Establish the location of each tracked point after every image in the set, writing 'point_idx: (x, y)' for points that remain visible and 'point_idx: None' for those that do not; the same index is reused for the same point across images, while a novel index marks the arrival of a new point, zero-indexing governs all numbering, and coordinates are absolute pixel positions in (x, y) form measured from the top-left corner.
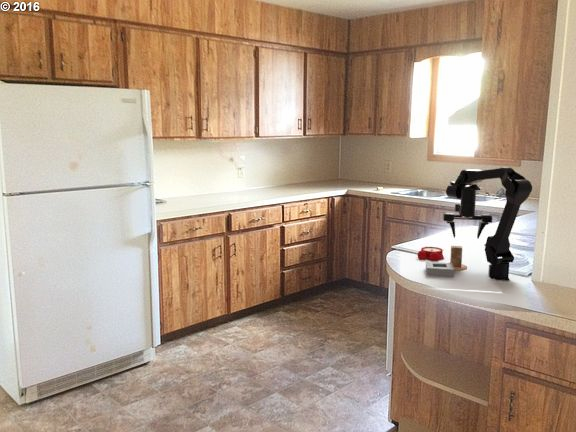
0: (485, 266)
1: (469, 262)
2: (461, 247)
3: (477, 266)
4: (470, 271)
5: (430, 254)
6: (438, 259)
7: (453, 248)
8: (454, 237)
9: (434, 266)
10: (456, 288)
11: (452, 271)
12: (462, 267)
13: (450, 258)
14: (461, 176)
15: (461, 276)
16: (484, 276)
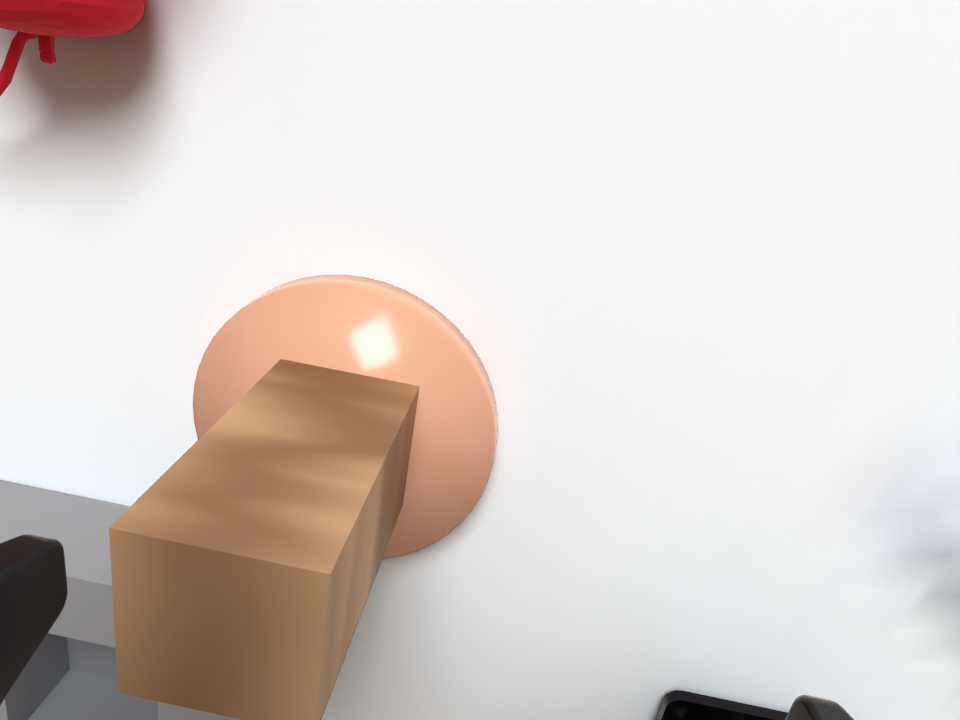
0: (827, 319)
1: (669, 61)
2: (308, 685)
3: (699, 319)
4: (508, 545)
5: None
6: (129, 28)
7: (154, 686)
8: (46, 611)
9: None
10: None
11: None
12: (418, 503)
13: (242, 397)
14: None
15: (356, 699)
16: (599, 714)
